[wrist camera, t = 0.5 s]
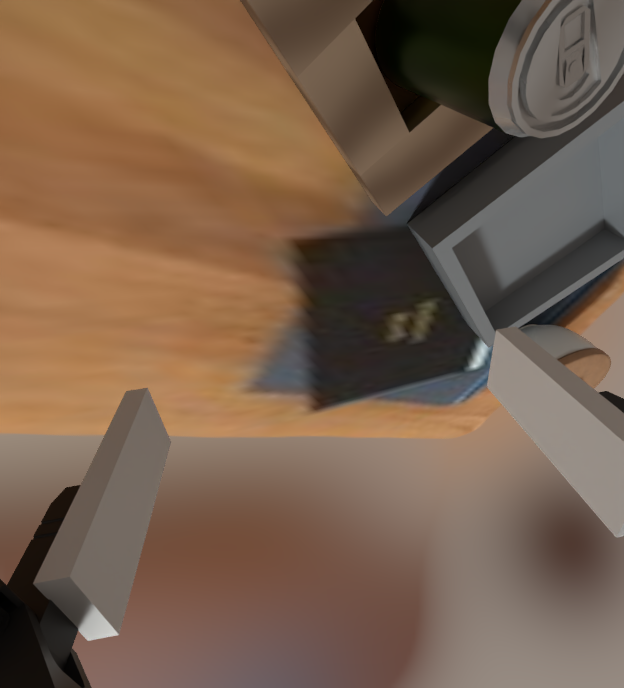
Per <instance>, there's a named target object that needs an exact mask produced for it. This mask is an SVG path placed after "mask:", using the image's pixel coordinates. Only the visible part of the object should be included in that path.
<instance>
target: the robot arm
mask: <svg viewBox="0 0 624 688" xmlns="http://www.w3.org/2000/svg"><path fill="white" fill-rule="evenodd" d="M487 388H488V389H489V390H490V391H491V392H492V393H493V395H494V396H495V397H496V398H497V399H498V400H499V402H500V403H501V404H502V405H503V406H504V407H505V409H506V410H507V411H508V412H509V413H510V414H511V416H512V417H513V418H514V419H515V420H516V421H517V422H518V424H519V425H520V426H521V427H522V428H523V430H524V431H525V432H526V433H527V434H528V435H529V437H530V438H531V439H532V440H533V441H534V442H535V444H536V445H537V446H538V447H539V448H540V449H541V451H542V452H543V453H544V454H545V455H546V456H547V458H548V459H549V460H550V461H551V462H552V463H553V464H554V466H555V467H556V468H557V469H558V470H559V471H560V473H561V474H562V475H563V476H564V477H565V478H566V480H567V481H568V482H569V483H570V484H571V485H572V487H573V488H574V489H575V490H576V491H577V492H578V493H579V495H580V496H581V497H582V498H583V499H584V501H585V502H586V503H587V504H588V505H589V506H590V508H591V509H592V510H593V511H594V512H595V513H596V514H597V516H598V517H599V518H600V519H601V520H602V522H603V523H604V524H605V525H606V526H607V527H608V529H609V530H610V531H611V532H612V533H613V534H614V536H615V537H622V536H624V399H623V398H621V397H619V396H616V395H614V394H612V393H610V392H607V391H604V392H599V393H598V392H597V391H596V390H594V389H593V388H592V387H591V386H589V385H588V384H587V383H586V382H584V381H583V380H582V379H581V378H579V377H578V376H577V375H576V374H574V373H573V372H572V371H571V370H569V369H568V368H567V367H566V366H564V365H563V364H562V363H561V362H559V361H558V360H557V359H556V358H554V357H553V356H552V355H551V354H549V353H548V352H547V351H546V350H544V349H543V348H542V347H541V346H539V345H538V344H537V343H536V342H534V341H533V340H532V339H531V338H529V337H528V336H527V335H526V334H524V333H523V332H522V331H521V330H519V329H518V328H517V327H516V326H515V327H509V328H503V329H497V330H496V334H495V340H494V346H493V353H492V359H491V365H490V371H489V378H488V384H487ZM170 444H171V441H170V439H169V436H168V434H167V432H166V429H165V427H164V425H163V422H162V420H161V418H160V415H159V413H158V411H157V409H156V406H155V404H154V402H153V399H152V397H151V395H150V392H149V390H148V388H143V389H137V390H131V391H126V393H125V395H124V397H123V399H122V401H121V403H120V405H119V407H118V409H117V411H116V413H115V415H114V417H113V420H112V422H111V424H110V426H109V428H108V430H107V432H106V434H105V436H104V438H103V440H102V442H101V445H100V446H99V448H98V450H97V453H96V455H95V457H94V459H93V461H92V463H91V465H90V467H89V469H88V471H87V473H86V475H85V477H84V479H83V481H82V483H81V485H78V486H72V487H67V488H65V489H64V490H63V491H62V493H61V494H60V495H59V496H58V497H57V498H56V499H55V500H54V501H53V502H52V503H51V505H50V506H49V508H48V510H47V512H46V514H45V516H44V518H43V519H42V521H41V522H42V524H41V525H39V527H38V529H37V531H36V532H35V534H34V539H33V540H31V542H30V544H29V546H28V547H27V549H26V551H25V553H24V555H23V557H22V558H21V560H20V562H19V564H18V566H17V568H16V569H15V571H14V573H13V575H12V577H11V579H10V581H9V582H8V584H7V585H6V584H5V583H4V582H3V581H2V580H1V579H0V688H91V686H90V683H89V681H88V679H87V676H86V674H85V672H84V669H83V667H82V665H81V662H80V660H79V658H78V655H77V653H76V652H75V651H74V650H73V649H72V646H73V643H74V640H75V637H76V635H77V631H79V632H80V633H81V634H82V635H83V636H84V637H85V638H86V639H87V640H88V641H90V640H95V639H100V638H104V637H110V636H115V635H119V633H120V629H121V625H122V622H123V618H124V614H125V610H126V607H127V603H128V599H129V596H130V592H131V588H132V584H133V581H134V577H135V573H136V570H137V566H138V562H139V559H140V555H141V551H142V548H143V544H144V540H145V536H146V533H147V529H148V525H149V522H150V518H151V514H152V511H153V507H154V503H155V499H156V496H157V491H158V488H159V484H160V481H161V477H162V473H163V470H164V466H165V462H166V459H167V455H168V451H169V447H170Z"/></svg>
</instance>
